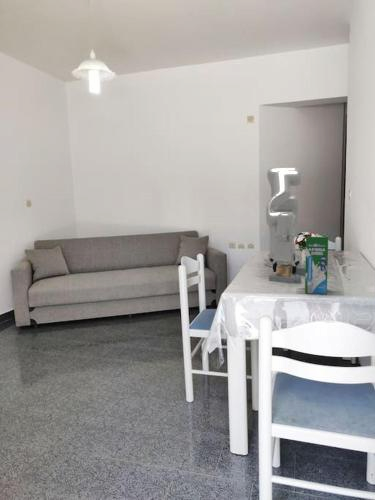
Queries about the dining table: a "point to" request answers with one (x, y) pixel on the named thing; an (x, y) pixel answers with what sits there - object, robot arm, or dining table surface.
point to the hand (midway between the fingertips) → (284, 272)
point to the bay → (296, 277)
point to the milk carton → (316, 265)
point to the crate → (284, 270)
